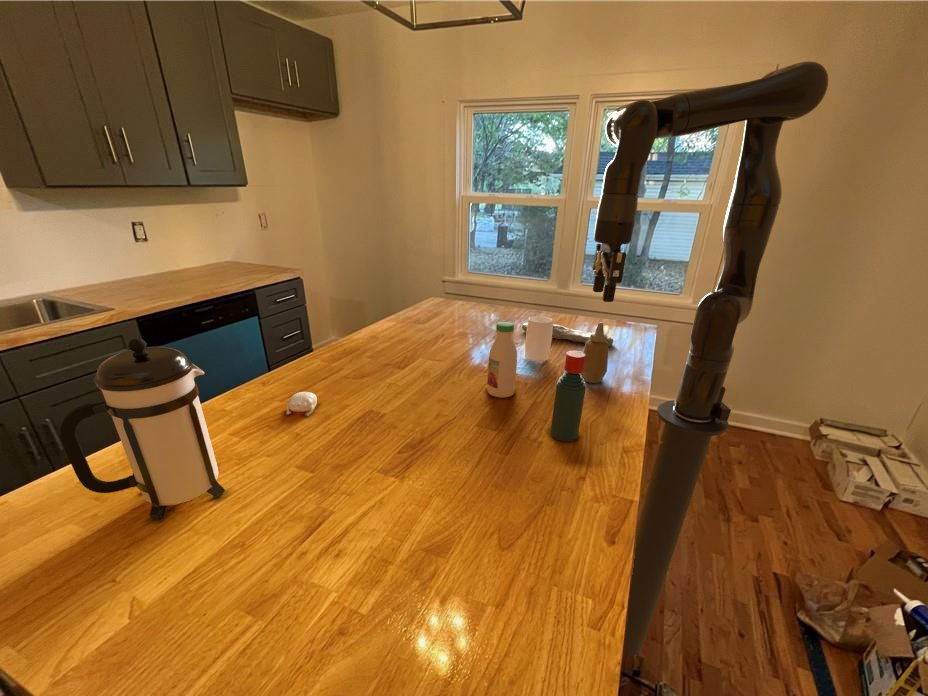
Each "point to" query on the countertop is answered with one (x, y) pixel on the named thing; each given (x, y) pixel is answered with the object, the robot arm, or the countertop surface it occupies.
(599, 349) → the squeeze bottle
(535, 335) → the cup
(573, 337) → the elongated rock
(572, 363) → the cap
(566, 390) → the water bottle
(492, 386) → the milk bottle
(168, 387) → the coffee press
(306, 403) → the white turtle figurine
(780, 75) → the robot arm
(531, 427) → the countertop surface
